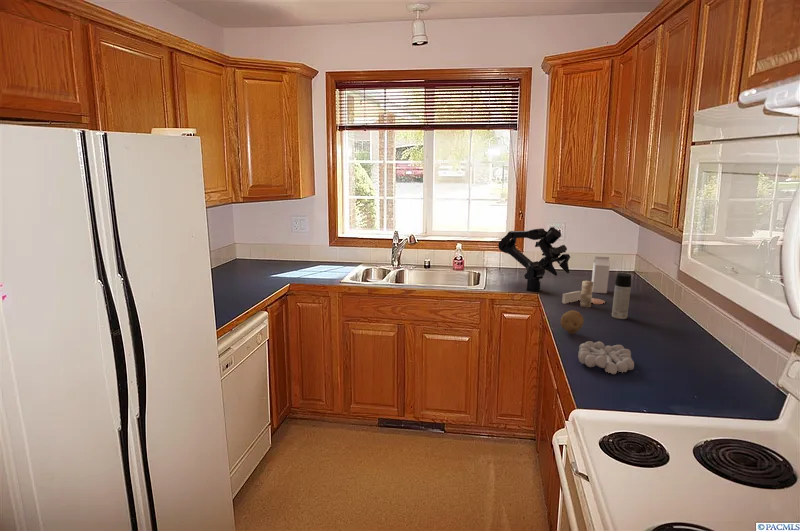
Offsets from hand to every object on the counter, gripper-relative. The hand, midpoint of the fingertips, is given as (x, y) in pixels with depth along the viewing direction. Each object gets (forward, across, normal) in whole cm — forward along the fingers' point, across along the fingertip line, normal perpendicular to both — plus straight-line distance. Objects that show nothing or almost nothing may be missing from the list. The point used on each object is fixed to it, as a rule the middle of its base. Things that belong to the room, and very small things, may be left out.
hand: (562, 274), depth 269 cm
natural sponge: (+36, -40, -18) cm, 57 cm away
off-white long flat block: (+14, 0, +4) cm, 14 cm away
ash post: (+20, 0, -2) cm, 20 cm away
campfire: (+55, -54, -36) cm, 85 cm away
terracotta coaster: (+18, +10, 0) cm, 21 cm away
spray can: (+34, -2, -16) cm, 37 cm away
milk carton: (+10, +29, +8) cm, 32 cm away
